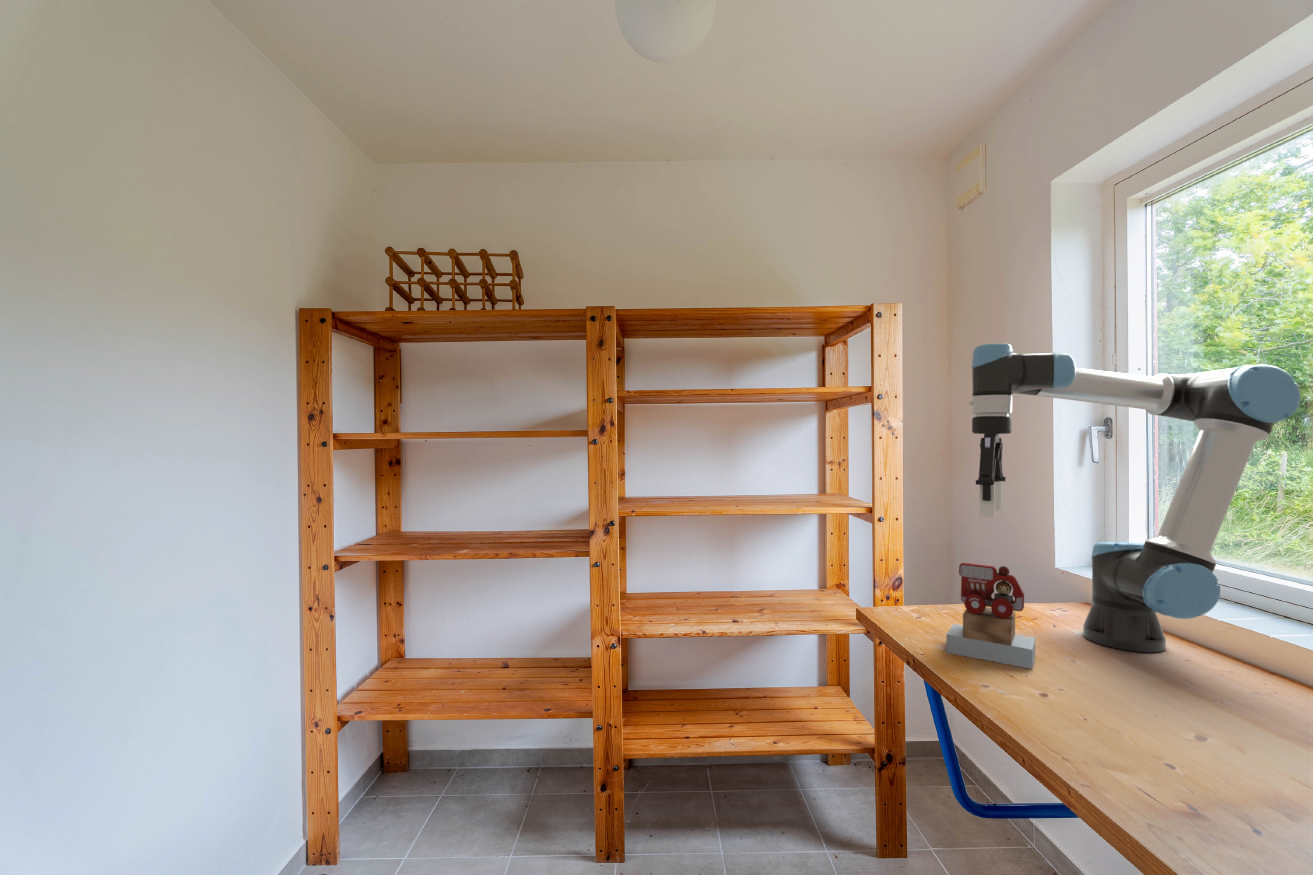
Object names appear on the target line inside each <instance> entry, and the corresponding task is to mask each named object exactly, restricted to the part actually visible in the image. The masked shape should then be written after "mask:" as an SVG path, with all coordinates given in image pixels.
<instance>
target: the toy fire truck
mask: <svg viewBox="0 0 1313 875" xmlns="http://www.w3.org/2000/svg"><path fill="white" fill-rule="evenodd" d="M958 567H959V568H958V574H959V575H960V578H961V580H960V581H961V583H960V600H961V602H963V603H964V607H965V610H966V609H967V610H968V611H969V612H970V613H972V614H981V613H982V612H984V610H985V608H986V607H987V608H991V610H992V612H993V613H994V615H995V616H997V617H999V618H1003V619H1005V618H1009V617H1010V616H1011V615H1012V614H1013V611H1014V612H1022V611H1023V610H1024V608H1025V593H1024V591H1023V589H1022V588H1021V585H1020V583H1019V582H1018V579H1017V578H1016V576H1015V575H1013V574H1010V568H1008V566H1005V565H1001V566H1000V567H998V570H997V568H996V567H995V566H993V565H986V564H979V563H978V564H977V563H970V562H969V563H968V562H961V563H960V564H959V566H958ZM995 584H996V585H995ZM995 590H996V593H995ZM1011 592H1012V594H1011ZM992 595H993V596H994V597H992ZM1013 598H1014V599H1013Z"/></svg>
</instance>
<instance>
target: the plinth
mask: <svg viewBox="0 0 1313 875" xmlns="http://www.w3.org/2000/svg"><path fill="white" fill-rule="evenodd" d="M945 637H946V640H945V642H946V647H945V648H946V650H945V651H946V653H948V654H953V655H957V656H962V657H963V656H964V657H968V658H972V659H978V660H982V659H984V660H983V661H987V660H988V662H992V661H995V662H994V663H998V662H999V664H1003V663H1004V664H1003V665H1008V664H1010V665H1009V666H1013V665H1014V667H1018V666H1019V667H1020V668H1024V669H1028V668H1029V670H1033V669H1034V664H1035V659H1036V637H1033V636H1029V635H1027V636H1026V635H1021V634H1016V633H1015V636H1014V639H1013V642H1012V645H1011V646H1009V645H1003V644H998V643H992V642H986V641H981V640H975V639H970V638H964V637H963V624H957V623H953V624H952V626H951V627H950V629H949V630H948V631H947V633H946V636H945Z"/></svg>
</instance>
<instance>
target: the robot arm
mask: <svg viewBox="0 0 1313 875" xmlns="http://www.w3.org/2000/svg"><path fill="white" fill-rule="evenodd" d="M971 371H972V373H971V375H972V376H971V377H972V381H971V383H972V395H971V396H972V400H970V401H969V402H968V404H969V406H972V410H971V411H972V415H975V416H974V417H973V416H972V417H973V418H971V432H972V434H975V435H976V434H977V435H981V434H983V437H981V439H980V443H979V444H980V445H979V449H980V452H979V453H980V454H979V455H980V457H979V459H980V460H979V469H978V478H977V479H976V480H975V485H978V486H979V517H988V518H994V517H995V515H996V513H995V512H997V511H1000V512H1002V510H1003V482H1006V476H1004V473H1003V447H1004V446H1003V445H1004V444H1003V440H1002V438H1001V437H999V436H1000V434H1001V435H1009V434H1012V432H1013V431H1012V426H1013V425H1012V419H1013V418H1012V417H1011V416H1010V415H1012V413H1013V394H1018V395H1026V396H1035V397H1037V396H1038V397H1044V398H1052V399H1053V398H1054V399H1060V400H1068V401H1077V402H1085V403H1092V404H1102V405H1109V406H1114V407H1115V406H1116V407H1125V408H1132V409H1141V410H1145V411H1146V413H1148V415H1149V414H1150V415H1151V416H1152V415H1153V416H1161V417H1166V418H1173V419H1177V420H1183V421H1188V422H1193V423H1194V425H1195V426H1196V427H1197V429H1198V431H1199V433H1198V435H1197V438H1196V440H1195V443H1194V446H1193V448H1192V450H1191V453H1190V455H1189V457H1188V460H1187V462H1186V465H1185V467H1184V470H1183V473H1182V475H1181V478H1180V479H1179V482H1178V484H1177V487H1176V489H1175V492H1174V495H1173V497H1172V500H1171V502H1170V504H1169V507H1168V509H1167V512H1166V515H1165V517H1164V519H1163V521H1162V524H1161V526H1160V529H1159V531H1158V534H1157V535H1156V536H1154V537H1151V538H1149V539H1146V540H1145V542H1144V543H1142V542H1141V543H1140V542H1119V541H1118V542H1117V541H1099V542H1096V543H1095V544H1093V547H1092V553H1091V561H1092V564H1091V566H1092V567H1091V568H1092V570H1091V572H1092V573H1091V575H1092V576H1091V578H1092V579H1091V580H1092V581H1091V582H1092V583H1091V584H1092V586H1091V587H1092V590H1091V592H1092V594H1091V595H1092V601H1091V602H1092V603H1091V606H1090V608H1089V611H1088V614H1086V615H1087V616H1086V618H1085V620H1084V623H1083V626H1082V635H1083V637H1084V638H1086V639H1087V640H1089V641H1091V642H1093V643H1096V644H1099V645H1102V646H1105V647H1109V648H1113V649H1119V650H1122V651H1130V652H1137V653H1138V652H1139V653H1160V652H1163V651H1165V650H1166V649H1167V639H1166V636H1165V632H1164V631H1163V628H1162V625H1161V623H1160V620H1159V617H1158V615H1157V613H1158V614H1160V615H1163V616H1167V617H1171V618H1175V619H1178V620H1179V619H1181V620H1191V619H1195V618H1198V617H1201V616H1204V615H1206V614H1207V613H1209V612H1211V610H1212V609H1214V607H1215V606H1216V605H1217V603H1218V602H1219V599H1220V597H1221V585H1220V584H1219V583H1218V581H1219V580H1218V578H1217V577H1216V575H1215V573H1213V572H1214V571H1215V568H1216V566H1217V562H1216V560H1215V559H1214V557H1213V556H1212V554H1211V551H1212V549H1213V547H1214V544H1215V541H1216V539H1217V536H1218V534H1219V532H1220V529H1221V527H1222V524H1223V522H1224V519H1225V516H1226V515H1227V512H1228V509H1229V507H1230V505H1231V502H1232V499H1233V497H1234V495H1235V492H1236V490H1237V488H1238V485H1239V482H1240V480H1241V479H1242V475H1243V473H1244V471H1245V468H1246V465H1247V463H1248V460H1249V458H1250V456H1251V454H1252V451H1253V448H1254V446H1255V444H1256V443H1258V442H1261V441H1263V440H1266V439H1268V438H1269V437H1270V434H1271V432H1272V430H1273V428H1274V425H1275V423H1279V422H1281V421H1284V420H1286V419H1287V418H1290V417H1291V416H1292V415H1294V413H1296V411H1297V410H1298V408H1299V406H1300V403H1301V392H1300V386H1299V385H1298V383H1296V382H1295V381H1294V377H1293V376H1292V375H1291V374H1290V373H1288V372H1287V371H1286V370H1284V369H1282V368H1281V367H1278V366H1275V365H1270V364H1244V365H1241V366H1237V367H1232V368H1224V369H1216V370H1207V371H1201V372H1195V373H1194V372H1193V373H1183V374H1181V373H1179V374H1173V373H1172V374H1169V373H1158V374H1155V375H1154V376H1151V375H1149V376H1148V375H1140V374H1133V373H1131V374H1130V373H1124V372H1123V373H1122V372H1115V371H1104V370H1096V369H1089V368H1088V369H1087V368H1081V367H1080V368H1079V367H1076V362H1075V359H1074V357H1073V356H1071V354H1068V353H1059V352H1058V353H1057V352H1051V353H1049V352H1048V353H1042V352H1041V353H1017V352H1016V353H1015V352H1014V350H1013V347H1012V345H1011V344H1009V343H1003V342H1002V343H1000V342H997V343H987V344H981V345H977V346H976V347H975V348H974V349H973V352H972V362H971Z"/></svg>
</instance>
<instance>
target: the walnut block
mask: <svg viewBox="0 0 1313 875" xmlns="http://www.w3.org/2000/svg"><path fill="white" fill-rule="evenodd" d="M962 625H963V637H964V638H970V639H975V640H981V641H986V642H992V643H998V644H1003V645H1009V646H1011V645H1012V642H1013V639H1014V636H1015V634H1016V611H1013V614H1012V615H1011V616H1010V617H1009V618H1005V619H1003V618H999V617H997V616H995V615H994V613H993V612H992V610H991V607H987V606H986V608H985V610H984V612H982V613H981V614H972V613H970V612H969V611H968V610H967V609H966V608H965V611H964V612H963V613H962Z"/></svg>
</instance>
